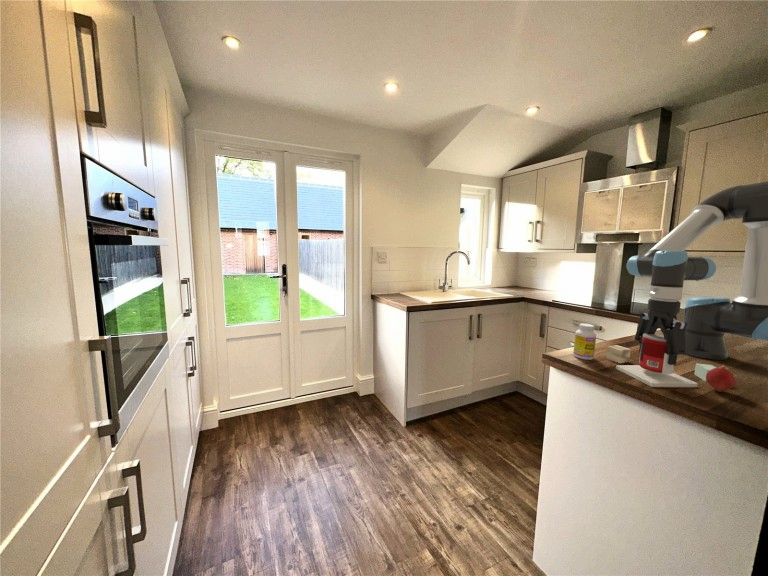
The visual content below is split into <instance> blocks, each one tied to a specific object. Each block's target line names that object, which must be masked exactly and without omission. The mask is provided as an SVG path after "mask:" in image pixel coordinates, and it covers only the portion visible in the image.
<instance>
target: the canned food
mask: <svg viewBox="0 0 768 576" xmlns="http://www.w3.org/2000/svg"><path fill="white" fill-rule="evenodd" d="M672 351H673V350H672ZM665 353H668V352H667V348H666V340H665V339H664V335H663V333H662V334H660V333H655V334H646V333H645V334H643V337H642V344H641V353H640V352H639V358H640V361H639V360H638V365H640V367H642V368H643V369H646V370H649V371H652V372H657V373H662V369H663V362H664V354H665Z"/></svg>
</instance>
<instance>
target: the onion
mask: <svg viewBox="0 0 768 576" xmlns="http://www.w3.org/2000/svg"><path fill="white" fill-rule="evenodd" d="M706 380H707V382H706V383H708V384H709V386H711V387H712V388H713V389H715V390H716V391H717V392H724V391H727V390H729V389H732V388H734V387H735V385H736V383H737V379H736V377H735V376H734V375H733V373H732V372H730V371H729V370H728V369H727V368H726V366H725V365H721V366H718V367H716V368H714V369H712V370H710V371H709V372H708V373H707V374H706Z"/></svg>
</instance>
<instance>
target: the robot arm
mask: <svg viewBox="0 0 768 576" xmlns="http://www.w3.org/2000/svg"><path fill="white" fill-rule="evenodd" d="M734 219H735V220H737V219H742V220H741V224H742V225H743V226H745V227H746V228H747V234H746V243H745V251H744V256H743V257H744V258H743V265H742V272H741V273H742V274H741V281H740V288H739V289H740V290H739V295H738V296H735V297H734V298H732V299H730V298H729V297H711V296H710V297H708V296H706V297H703V296H702V297H697V296H695V297H689V298H687V300H686V303H685V305H684V312H683V319H682V321H681V320H679V319H678V317H677V315H678V314H679V313H680V310H681V305H682V304H681V301H682V298H683V290H684V289H683V287H684V283H685V282H684V281H696V282H697V281H702V280H704V281H705V280H707V279H710V278H712V277H713V276H714V275H715V273H716V272H717V264H716V263H715V261H714V260H713V259H711V258H709V257H704V256H689V255H688V252H687V251H686V250H687V248H689V247H690V246H691V245H693V244H694V243H695V242H696V241H697V240H698V239H699V238H700V237H701V236H703V235H704V234H705V233H706V232H708V230H710V229H711V228H714V227H717V226H718V225H720V224H722V222H725V221H729V220H734ZM626 269H627V272H628V274H629V275H633V276H638V277H641V278H643V277H644V278H645V277H646V278H651V280H650V285H649V294H648V297H649V299H648V300H647V307H646V308H647V311H649V312H641V313H639V321H638V325H637V328H636V332H635V334H634V335H635V337H634V340H635V341H638V343H639V349H638V350H639V354H640V353H641V344H642V337H643V334H645V333H646V334H656V332H657V330H659V329H660V332H661V333H662V335H664V339H665V340H666V348H667V352H668V353H665V354H664V362H663V369H662V373H663V374H673V373H674V367H675V366H676V365H677V359H678V356H679V355H683V356H684V355H687V356H692V357H697V358H702V359H707V360H715V361H716V360H718V361H719V360H720V361H721V360H722V361H723V360H727V359H728V355H729V352H728V350H727V346H726V342H725V338H724V337H725V334H730V335H735V336H740V337H744V338H750V339H752V340H754V341H755V340H757V341H758V340H759V341H765V342H768V181H763V182H756V183H749V184H743V185H736V186H731V187H729V188H725V189H723V190H719V191H718V192H716V193H714V194H712V195H710V196H708V197H707V198H706V199H704V200H701V202H699V203H698V204H696V206H694V207H693V208H692V209H691V210H690V212H689V215H688V216H687V217H686V218H685V219H684V220H683V221H681V222H680V223H679V224H678V225H677V226H676V227H675V228H674V229H672V230H670V232H669V233H668V234H667V235H665V236H664V237H663V238H662V239H660V241H658V242H657V243H656V244H655V245H654V246H653V247H651V249H649V250H648V251H647V252H645V254H643V255H641V254H638V255H633V256H631V257H630V258H629V259H628V260H627V263H626ZM731 300H732V301H731ZM672 350H673V351H672ZM638 358H639V360H638V362H639V361H640V357H638Z"/></svg>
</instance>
